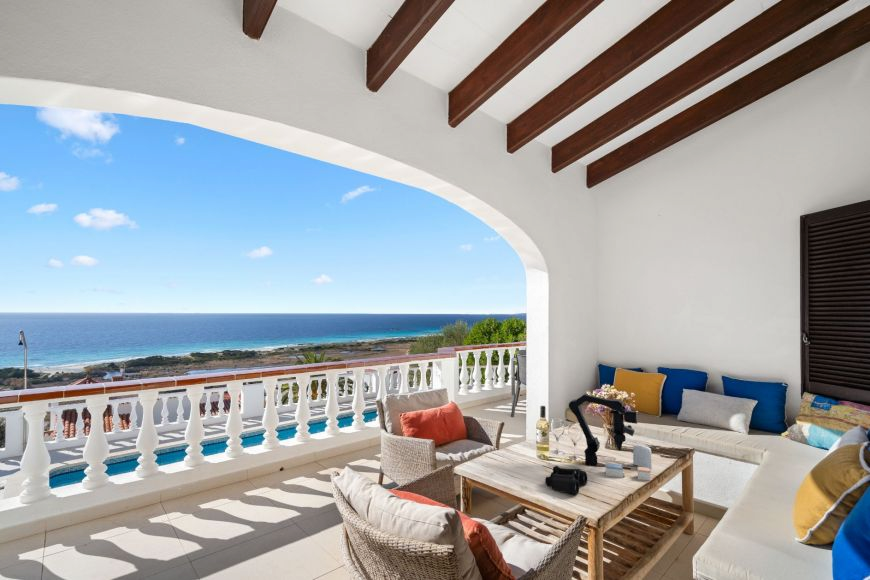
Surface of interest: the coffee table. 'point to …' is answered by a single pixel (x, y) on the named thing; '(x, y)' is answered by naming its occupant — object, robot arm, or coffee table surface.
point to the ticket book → (614, 470)
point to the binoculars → (566, 479)
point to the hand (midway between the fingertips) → (619, 448)
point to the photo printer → (642, 456)
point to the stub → (643, 473)
